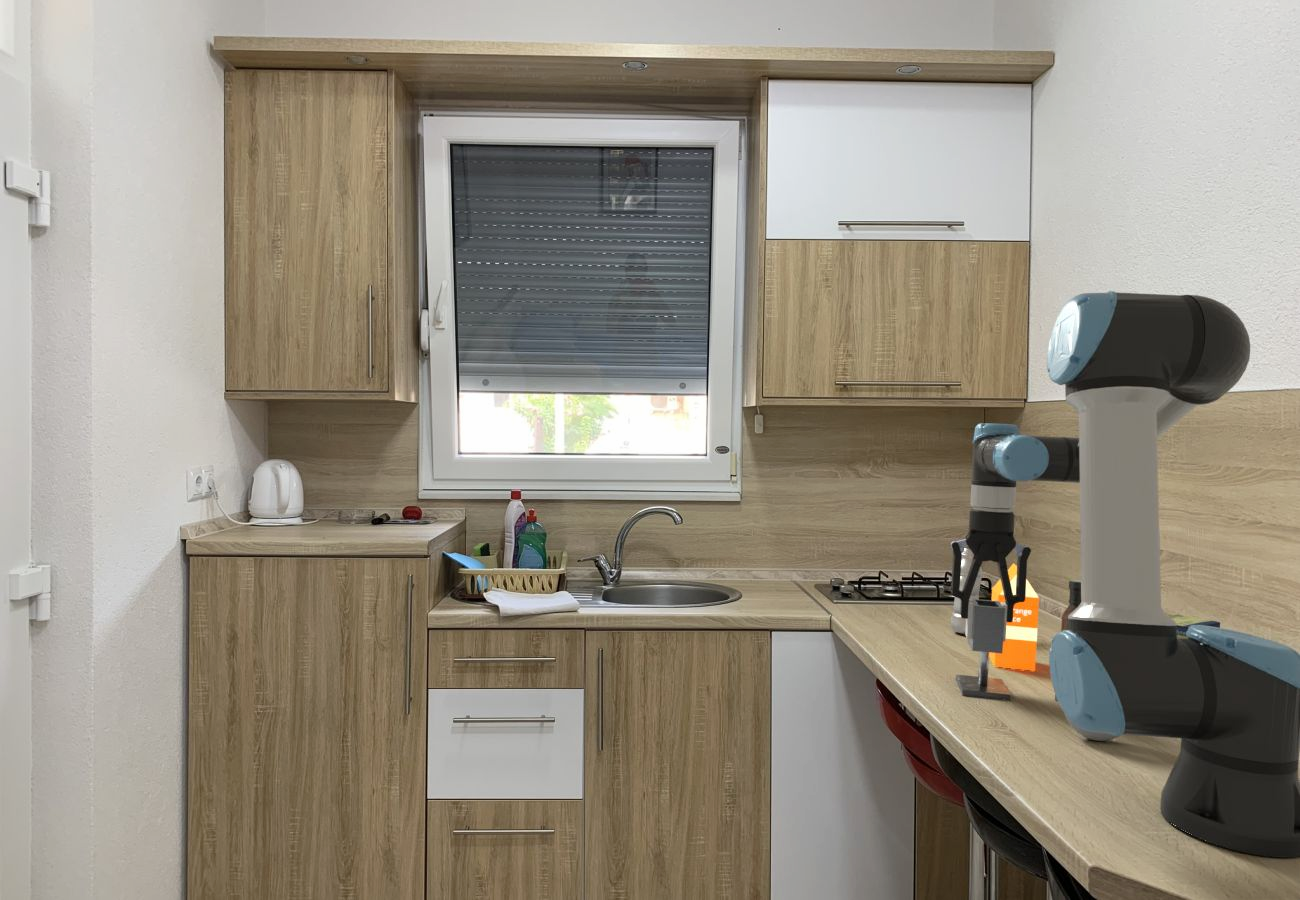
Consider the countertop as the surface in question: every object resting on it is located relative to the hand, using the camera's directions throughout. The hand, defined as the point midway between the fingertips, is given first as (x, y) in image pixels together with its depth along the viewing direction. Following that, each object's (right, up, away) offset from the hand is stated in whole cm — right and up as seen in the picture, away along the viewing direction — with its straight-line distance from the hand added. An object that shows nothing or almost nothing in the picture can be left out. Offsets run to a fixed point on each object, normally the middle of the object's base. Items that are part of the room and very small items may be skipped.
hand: (985, 637), depth 158 cm
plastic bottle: (+13, -9, +45) cm, 48 cm away
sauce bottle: (+18, -10, +4) cm, 22 cm away
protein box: (+29, -11, -3) cm, 31 cm away
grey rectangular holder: (0, -2, 0) cm, 2 cm away
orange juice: (+13, -10, +20) cm, 25 cm away
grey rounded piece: (+8, -11, -24) cm, 28 cm away
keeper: (0, -9, 0) cm, 9 cm away
